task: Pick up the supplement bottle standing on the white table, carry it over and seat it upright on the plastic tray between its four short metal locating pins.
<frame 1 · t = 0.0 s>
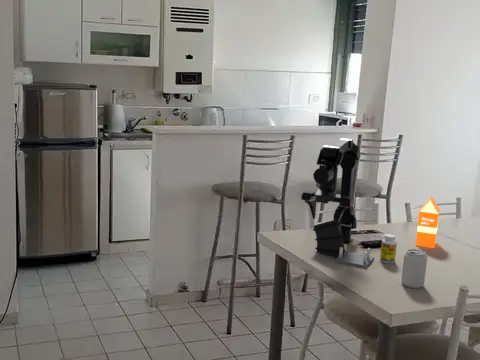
hand: (325, 220, 221), 15 cm above the table, tool pointing down, fingers open, 9 cm apart
orange juice: (425, 244, 251), on the table
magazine: (327, 255, 230), on the table, touching tray
tray: (354, 260, 223), on the table
supplement bottle: (387, 261, 225), on the table
can: (412, 285, 201), on the table
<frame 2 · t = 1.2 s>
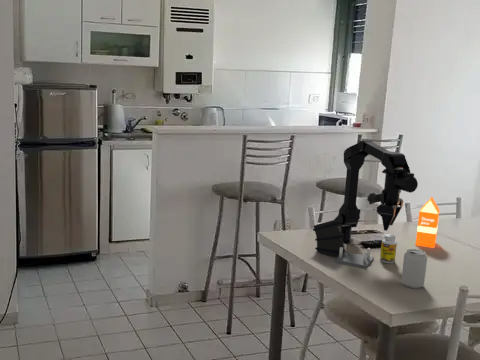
hand: (388, 227, 222), 13 cm above the table, tool pointing down, fingers open, 9 cm apart
nothing on the table moved.
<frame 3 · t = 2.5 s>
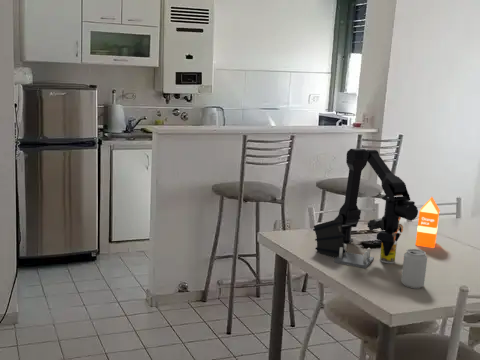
hand: (388, 253, 224), 3 cm above the table, tool pointing down, fingers closed on supplement bottle, 6 cm apart
supplement bottle: (387, 261, 225), on the table, touching gripper
everything else where it was.
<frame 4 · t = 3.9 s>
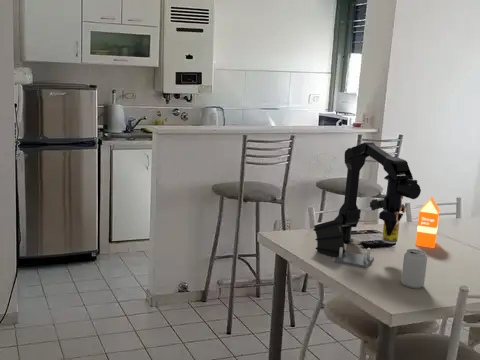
hand: (390, 233, 222), 11 cm above the table, tool pointing down, fingers closed on supplement bottle, 6 cm apart
supplement bottle: (389, 242, 223), point 8 cm above the table, touching gripper
everything else where it was.
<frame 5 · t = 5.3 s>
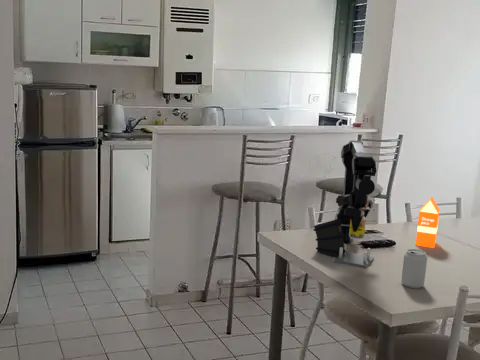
hand: (356, 229, 221), 12 cm above the table, tool pointing down, fingers closed on supplement bottle, 6 cm apart
supplement bottle: (356, 238, 221), point 9 cm above the table, touching gripper
everything else where it was.
when the fingers open (5 cm above the table, at t = 6.8 s): supplement bottle drops 1 cm, resting on tray.
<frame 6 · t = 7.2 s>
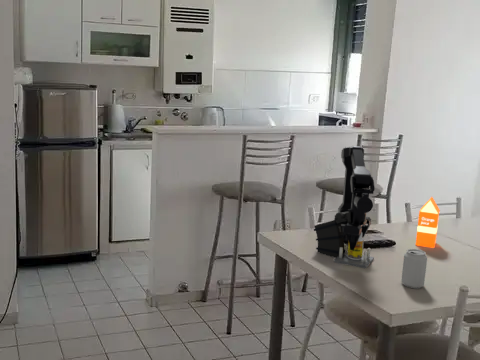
hand: (355, 246, 222), 5 cm above the table, tool pointing down, fingers open, 9 cm apart
supplement bottle: (354, 258, 223), point 1 cm above the table, touching tray
everything else where it was.
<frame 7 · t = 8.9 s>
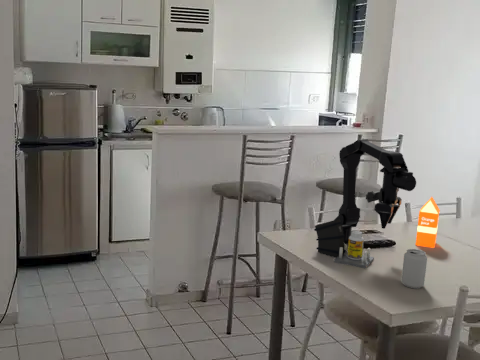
hand: (386, 225, 225), 13 cm above the table, tool pointing down, fingers open, 9 cm apart
nothing on the table moved.
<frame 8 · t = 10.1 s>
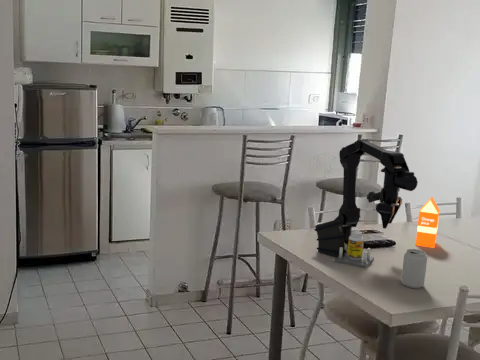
hand: (387, 225, 226), 13 cm above the table, tool pointing down, fingers open, 9 cm apart
nothing on the table moved.
at the end: supplement bottle 0.1 cm from the tray (horizontally); supplement bottle point 0.8 cm above the table; supplement bottle tilted 0° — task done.
